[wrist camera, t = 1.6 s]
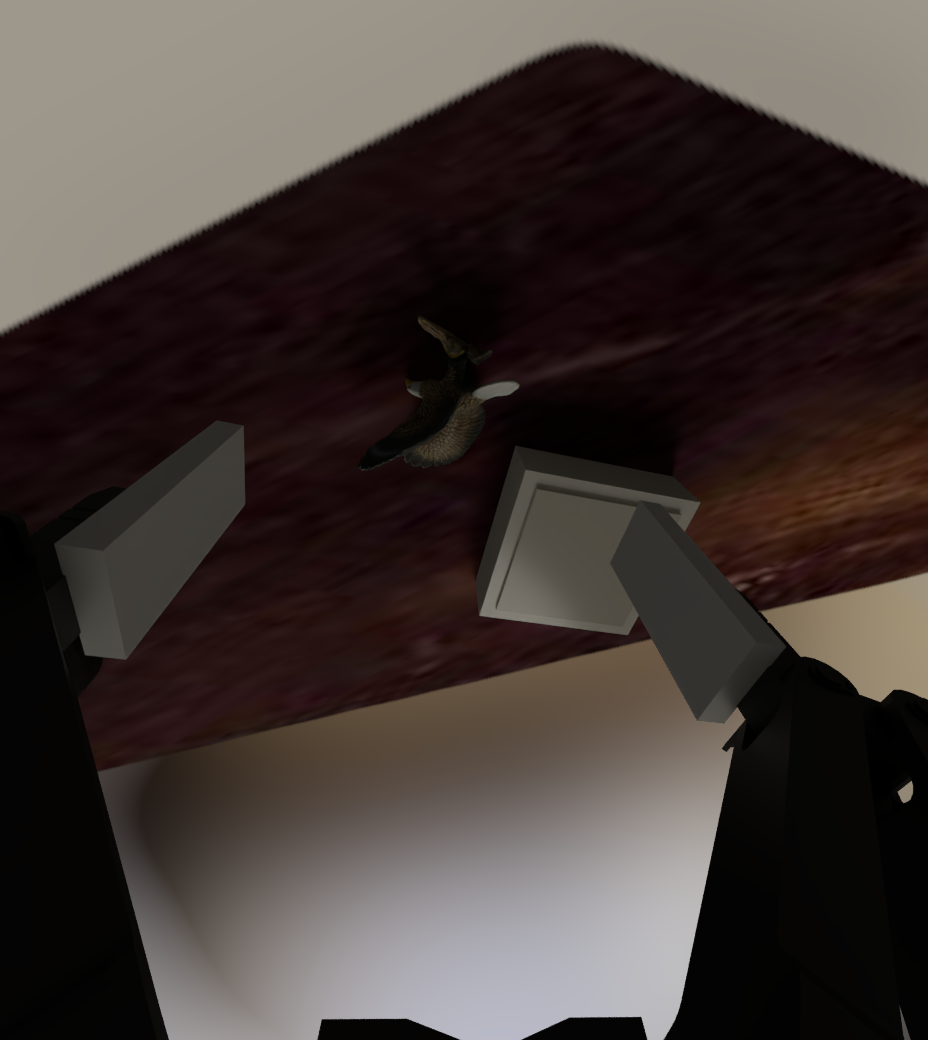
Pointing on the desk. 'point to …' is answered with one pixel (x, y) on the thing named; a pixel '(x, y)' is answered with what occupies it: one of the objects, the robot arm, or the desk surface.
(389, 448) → the eagle figurine
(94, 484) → the desk surface
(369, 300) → the desk surface
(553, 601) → the tray
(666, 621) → the robot arm
